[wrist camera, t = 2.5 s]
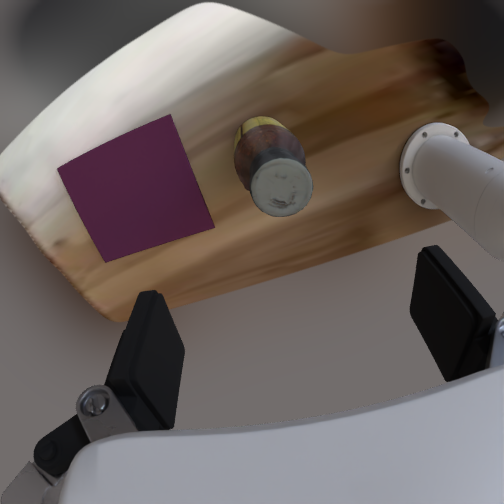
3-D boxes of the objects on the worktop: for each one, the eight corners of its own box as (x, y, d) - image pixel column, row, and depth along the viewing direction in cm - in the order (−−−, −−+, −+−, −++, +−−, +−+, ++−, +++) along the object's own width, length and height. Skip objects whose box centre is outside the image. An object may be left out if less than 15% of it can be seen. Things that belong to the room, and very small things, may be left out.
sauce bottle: (262, 173, 39) (276, 257, 22) (224, 141, 37) (205, 200, 20) (299, 136, 37) (347, 192, 20) (261, 102, 35) (278, 124, 18)
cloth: (170, 114, 35) (169, 114, 35) (214, 226, 43) (214, 227, 43) (57, 168, 38) (56, 168, 37) (105, 261, 45) (105, 262, 45)
